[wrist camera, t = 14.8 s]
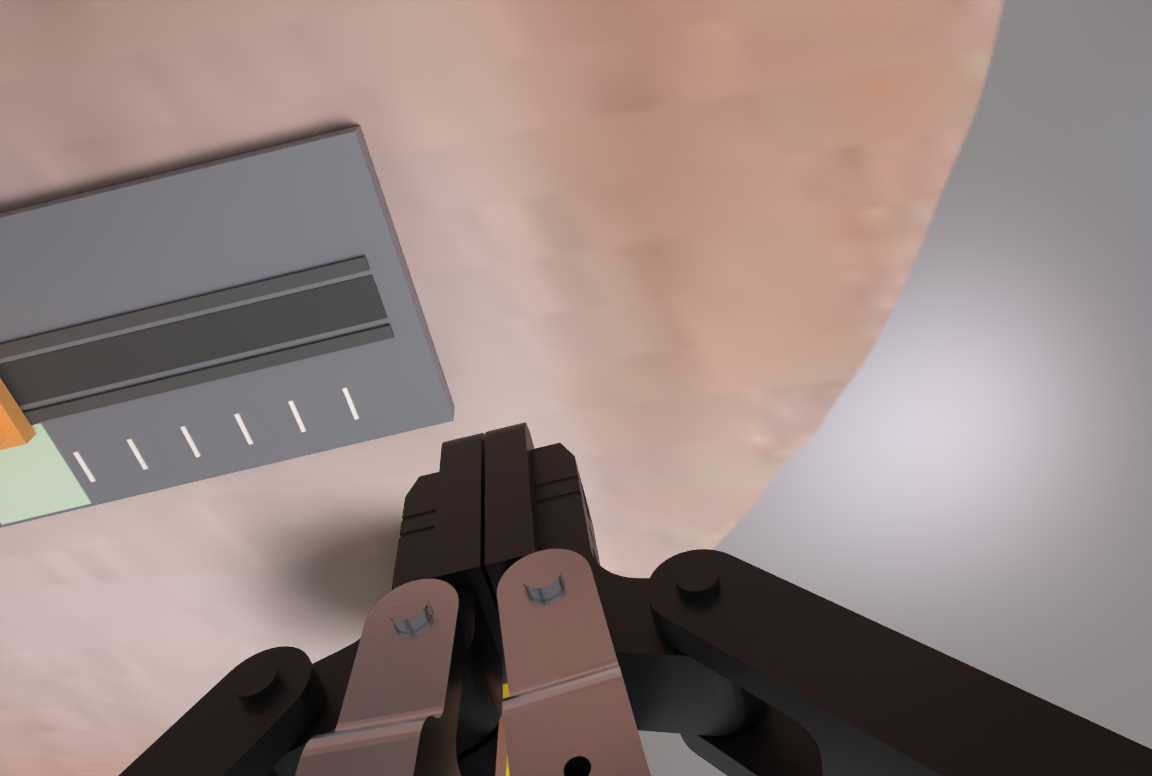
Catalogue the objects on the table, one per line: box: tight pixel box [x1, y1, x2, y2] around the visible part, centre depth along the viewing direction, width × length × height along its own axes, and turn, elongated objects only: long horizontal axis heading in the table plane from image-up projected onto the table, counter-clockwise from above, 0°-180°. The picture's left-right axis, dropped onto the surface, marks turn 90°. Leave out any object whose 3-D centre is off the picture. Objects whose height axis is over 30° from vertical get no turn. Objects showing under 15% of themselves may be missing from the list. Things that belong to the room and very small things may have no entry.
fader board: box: [0, 125, 454, 528], centre depth 41 cm, size 28×16×4 cm, turn 102°
